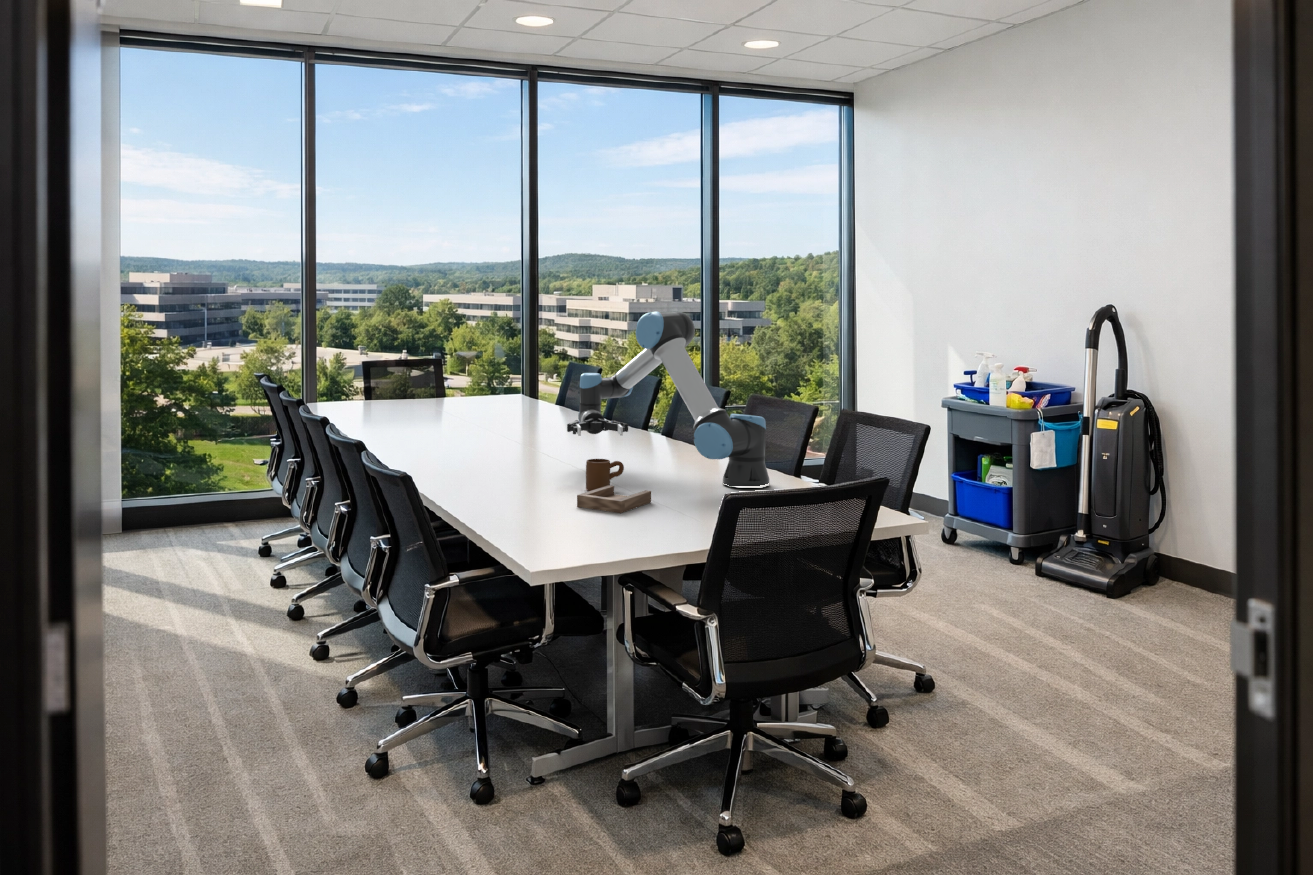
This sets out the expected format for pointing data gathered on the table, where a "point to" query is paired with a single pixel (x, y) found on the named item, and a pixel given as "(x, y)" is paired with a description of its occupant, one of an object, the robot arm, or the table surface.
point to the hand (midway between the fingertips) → (600, 431)
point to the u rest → (612, 500)
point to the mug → (601, 473)
